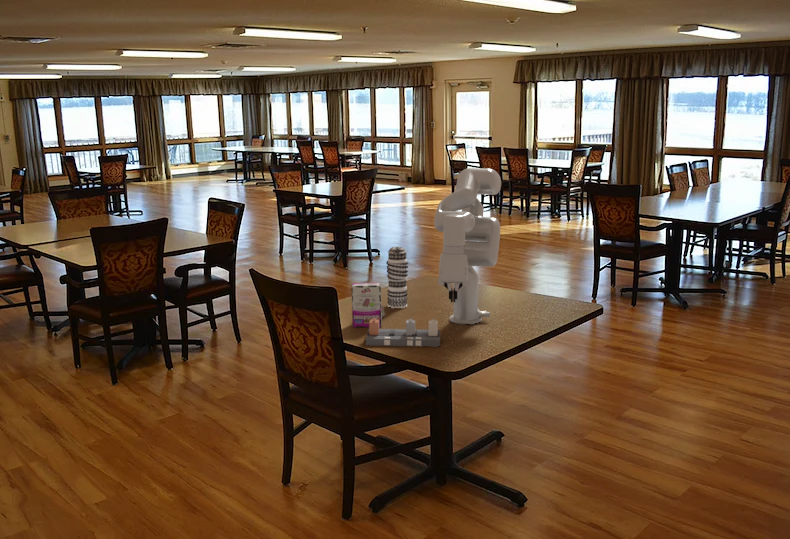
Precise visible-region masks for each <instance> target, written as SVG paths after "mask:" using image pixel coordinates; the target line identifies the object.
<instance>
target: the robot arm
mask: <svg viewBox="0 0 790 539" xmlns="http://www.w3.org/2000/svg"><path fill="white" fill-rule="evenodd" d="M501 187H502V180H501V176H500V174H499V173H498V172H497V171H496V170H495V169H493V168H484V167H483V168H479V167H470V168H469V167H468V168H465V169H463V170H461V171H460V172H459V174H458V177H457V179H456V185H455V187H454V188H455V189H454V192H451V193H450V194H449V195H447V196H446V197H445V198H443V199H442V200H440V202H439V203H438V205H437V209H436V210H435V214H434V220H433V223H434V224H433V225H434V228H435V229H436V230H437V231H438V232H441V233H443V234H442V235H443V236H442V237H443V239H442V240H443V242H442V243H443V244H442V252H441V253H440V257H439V264H438V266H439V267H438V281H437V285H438V286H443V287H445V288H446V290H448V300H450V303H453V314H451V315H450V316H449V322H451V323H453V324H456V325H457V324H458V325H465V324H470V325H475V323H477V324H480V323H481V322H482V320H483V319H482V318H483V317H484V318H490V317H491V315H490V314H491V312H490V311H487V310H483V311H482V310H480V308H479V280H480V279H479V278H480V277H479V274H478V272H477V270H476V269H475V268H474V267H485V268H489V267H492V268H493V267H494V266H495V265H496V264H497V262H498V260H499V259H498V257H499V250H500V242H501V241H500V240H501V239H500V238H501V223H500V221H499V219H498V218H496V217H489V216H484V206H483V204H482V203H481V202H482V201H480V200H479V199H478V198H477V197H478V195H487V196H488V195H489V196H490V195H492V196H493V195H497V194H499V192H500V191H501ZM452 283H453V287H452ZM479 322H480V323H479Z"/></svg>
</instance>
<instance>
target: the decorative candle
mask: <svg viewBox="0 0 790 539" xmlns="http://www.w3.org/2000/svg"><path fill="white" fill-rule="evenodd" d="M407 252H408V250H405V247H402V246H392V247H390V248H389V250H387V253H388V258H387V261H386V265H387V266H386V269H387V270H386V273H387V274H386V277H387V281H388V285H387V291H386V292H387V294H386V295H387V296H388V297H387V298H386V300H387V308H389V307H391V308H390V309H394V308H401V309H405V307H406V308H408V299H409V298H408V287H407V280H408V277H409V275H408V274H407V273H408V272H409V271H408V270H407V269H408V268H409V262H408V259H407Z"/></svg>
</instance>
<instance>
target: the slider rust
mask: <svg viewBox="0 0 790 539" xmlns="http://www.w3.org/2000/svg"><path fill="white" fill-rule="evenodd" d="M379 329H380V327H379V320H376V318H374V319H370V322H369V327H368V330H369V335H379Z"/></svg>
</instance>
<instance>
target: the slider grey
mask: <svg viewBox="0 0 790 539" xmlns="http://www.w3.org/2000/svg"><path fill="white" fill-rule="evenodd" d="M405 329H406V335H412V334H414V336H415V329H416V319H412V318H409V319H406V321H405Z"/></svg>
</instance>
